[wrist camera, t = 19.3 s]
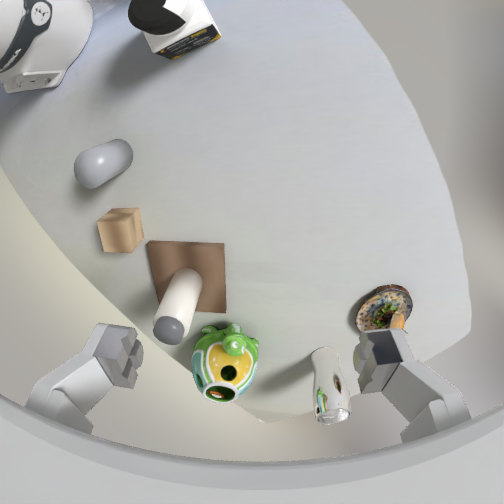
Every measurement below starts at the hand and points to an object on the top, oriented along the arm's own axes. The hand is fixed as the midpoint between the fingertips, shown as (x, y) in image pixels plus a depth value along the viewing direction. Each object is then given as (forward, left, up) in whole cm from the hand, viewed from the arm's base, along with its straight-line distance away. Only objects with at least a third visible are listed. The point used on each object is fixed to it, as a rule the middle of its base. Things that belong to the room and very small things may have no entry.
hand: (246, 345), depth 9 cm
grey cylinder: (-21, +1, -30) cm, 37 cm away
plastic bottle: (-11, -19, -29) cm, 36 cm away
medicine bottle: (-10, +19, -30) cm, 37 cm away
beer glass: (+15, -38, -30) cm, 51 cm away
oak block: (-21, -10, -30) cm, 38 cm away
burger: (+24, -25, -31) cm, 46 cm away
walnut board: (-11, -19, -30) cm, 37 cm away
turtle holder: (-5, -34, -31) cm, 46 cm away
